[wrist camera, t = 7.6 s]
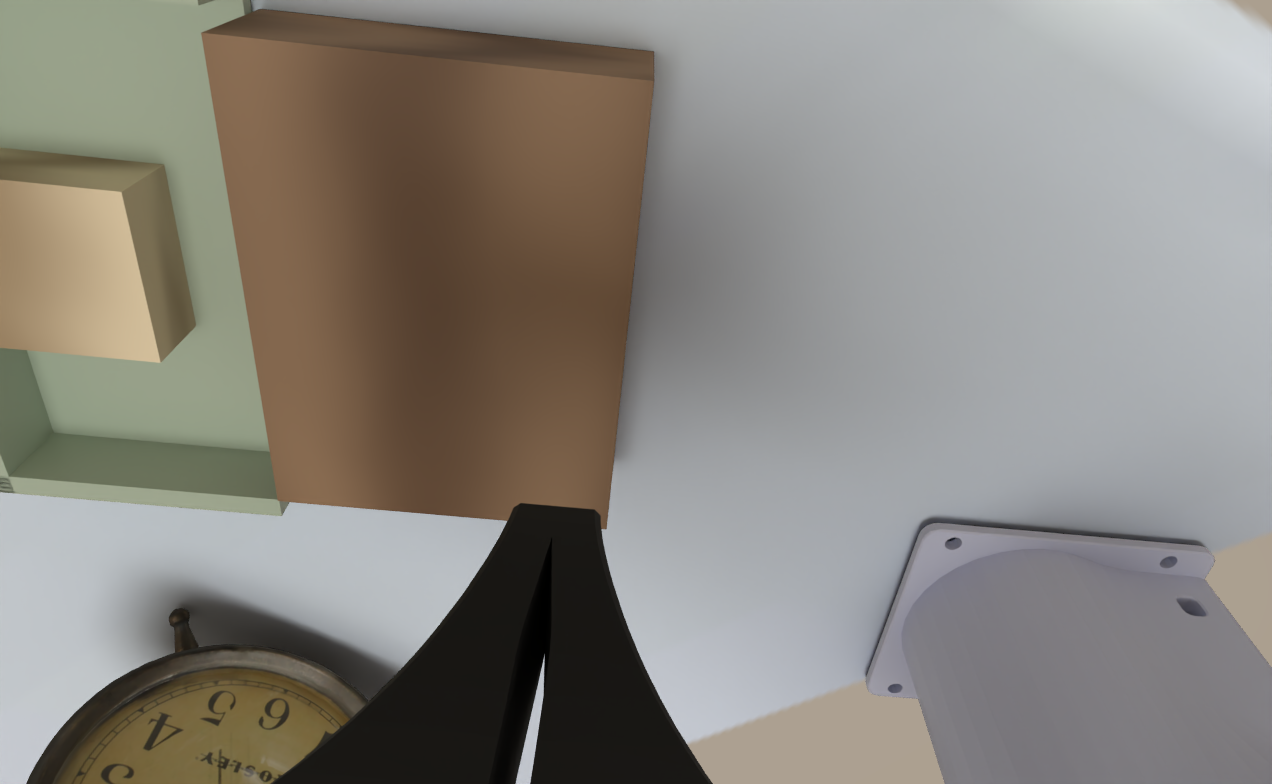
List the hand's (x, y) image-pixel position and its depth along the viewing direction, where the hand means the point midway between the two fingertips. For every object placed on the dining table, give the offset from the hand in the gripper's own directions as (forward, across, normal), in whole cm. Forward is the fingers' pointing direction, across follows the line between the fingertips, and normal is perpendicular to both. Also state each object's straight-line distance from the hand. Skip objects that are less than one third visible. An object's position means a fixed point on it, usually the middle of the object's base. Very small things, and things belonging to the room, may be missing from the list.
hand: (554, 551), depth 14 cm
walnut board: (+10, +4, 0) cm, 11 cm away
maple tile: (+8, +13, 0) cm, 15 cm away
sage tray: (+10, +12, 0) cm, 16 cm away
